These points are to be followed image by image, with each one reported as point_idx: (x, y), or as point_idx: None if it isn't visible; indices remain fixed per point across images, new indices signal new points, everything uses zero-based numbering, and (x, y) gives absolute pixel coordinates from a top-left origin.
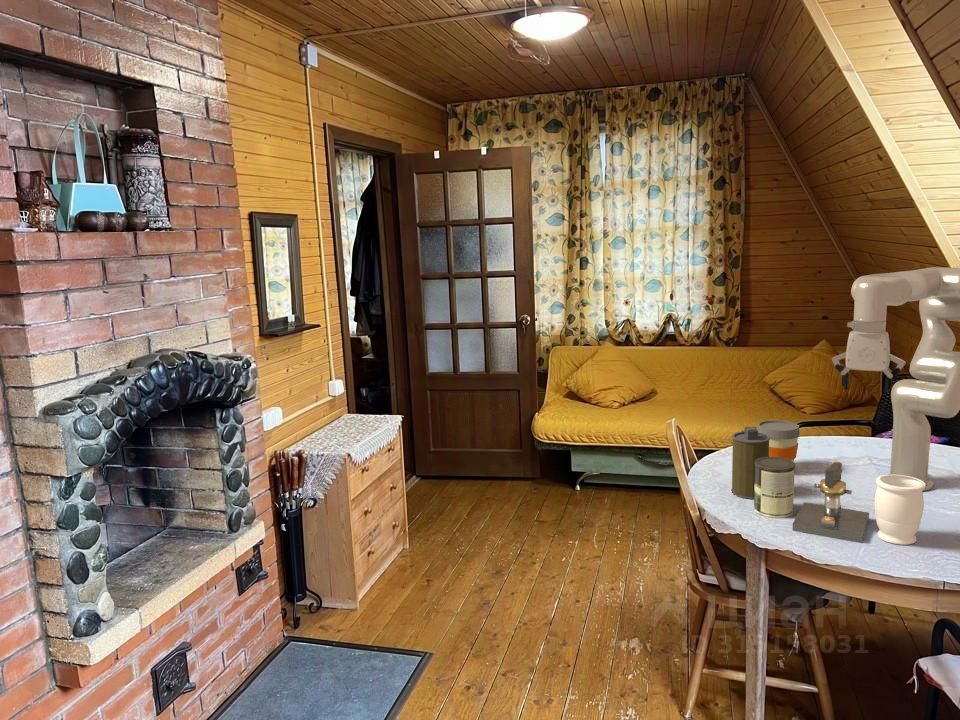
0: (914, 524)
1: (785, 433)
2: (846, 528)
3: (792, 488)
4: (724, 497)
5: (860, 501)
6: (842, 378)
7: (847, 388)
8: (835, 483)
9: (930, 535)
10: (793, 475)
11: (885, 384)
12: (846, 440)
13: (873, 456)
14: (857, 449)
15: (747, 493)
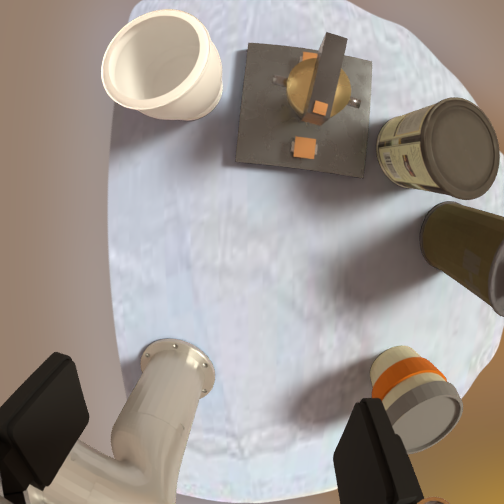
0: (154, 59)
1: (419, 397)
2: (277, 62)
3: (400, 131)
4: (480, 198)
5: (253, 259)
6: (412, 478)
7: (347, 425)
8: (313, 71)
9: (138, 130)
10: (413, 132)
11: (35, 395)
12: (273, 493)
13: (236, 459)
14: (258, 474)
15: (456, 204)
